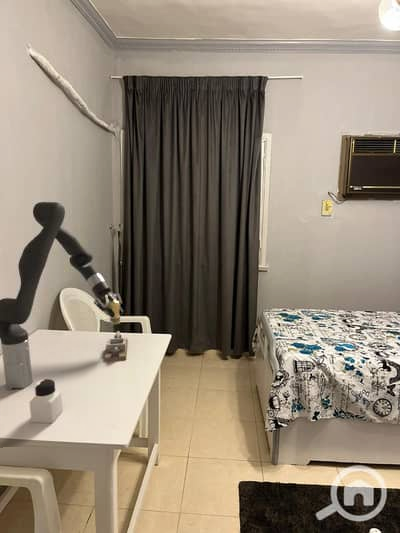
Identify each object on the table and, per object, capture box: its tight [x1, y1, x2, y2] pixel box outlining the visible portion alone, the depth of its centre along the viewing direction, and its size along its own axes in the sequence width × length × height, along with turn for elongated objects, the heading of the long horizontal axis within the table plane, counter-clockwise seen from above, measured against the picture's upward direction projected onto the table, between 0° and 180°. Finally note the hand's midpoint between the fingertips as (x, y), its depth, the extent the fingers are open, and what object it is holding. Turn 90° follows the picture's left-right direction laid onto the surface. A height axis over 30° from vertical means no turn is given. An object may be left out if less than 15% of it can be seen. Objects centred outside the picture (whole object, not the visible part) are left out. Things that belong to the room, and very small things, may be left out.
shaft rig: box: [104, 330, 129, 362], centre depth 176 cm, size 24×9×6 cm, turn 9°
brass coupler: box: [109, 300, 121, 325], centre depth 173 cm, size 4×4×10 cm
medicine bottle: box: [29, 378, 63, 424], centre depth 122 cm, size 7×7×12 cm
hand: (117, 314), depth 172 cm, fingers closed on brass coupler, 4 cm apart
